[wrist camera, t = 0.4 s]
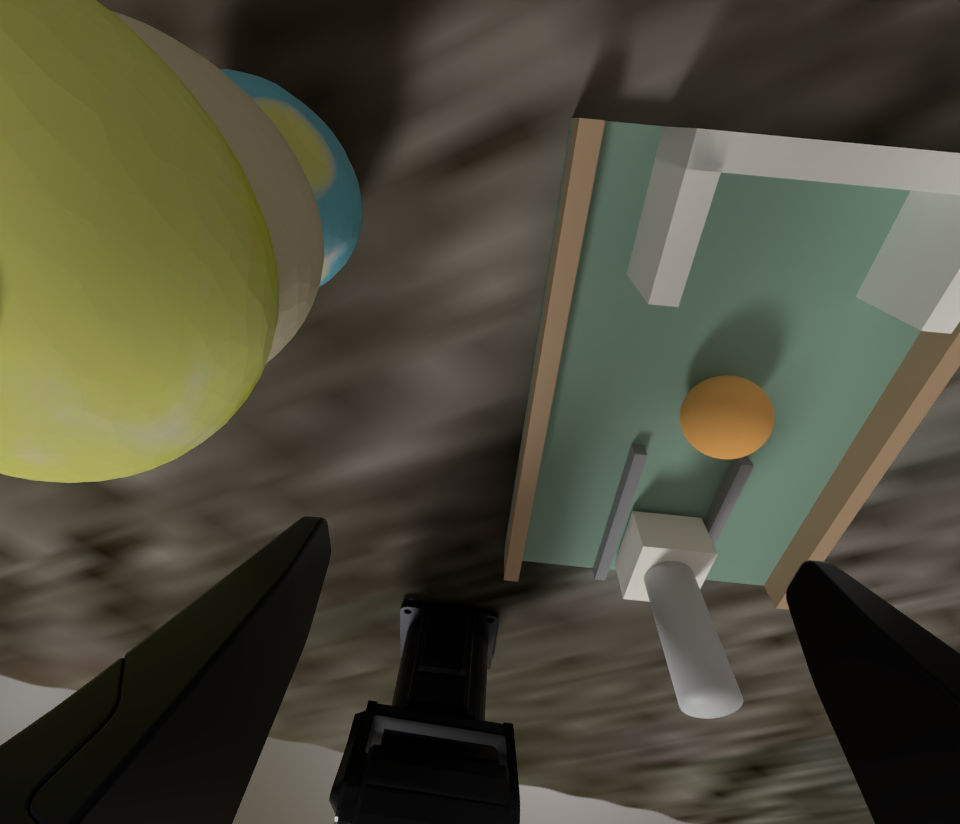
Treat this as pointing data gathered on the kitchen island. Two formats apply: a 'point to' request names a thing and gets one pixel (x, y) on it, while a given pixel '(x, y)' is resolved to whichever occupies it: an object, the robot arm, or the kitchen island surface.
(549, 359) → the pitch
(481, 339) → the kitchen island surface
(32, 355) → the toy
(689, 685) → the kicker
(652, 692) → the kitchen island surface
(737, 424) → the ball
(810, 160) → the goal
